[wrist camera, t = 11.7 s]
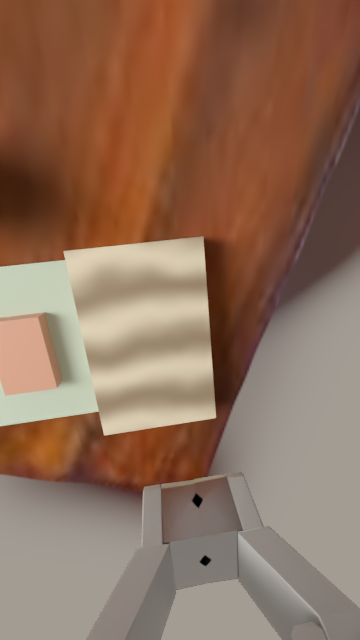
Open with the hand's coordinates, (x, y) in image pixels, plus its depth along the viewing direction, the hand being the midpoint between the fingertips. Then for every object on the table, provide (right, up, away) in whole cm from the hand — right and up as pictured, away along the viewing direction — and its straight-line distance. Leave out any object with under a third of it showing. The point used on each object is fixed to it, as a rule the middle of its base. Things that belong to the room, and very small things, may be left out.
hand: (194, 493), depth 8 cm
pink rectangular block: (-19, +1, +22) cm, 29 cm away
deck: (-4, +4, +26) cm, 26 cm away
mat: (-19, +2, +25) cm, 31 cm away
